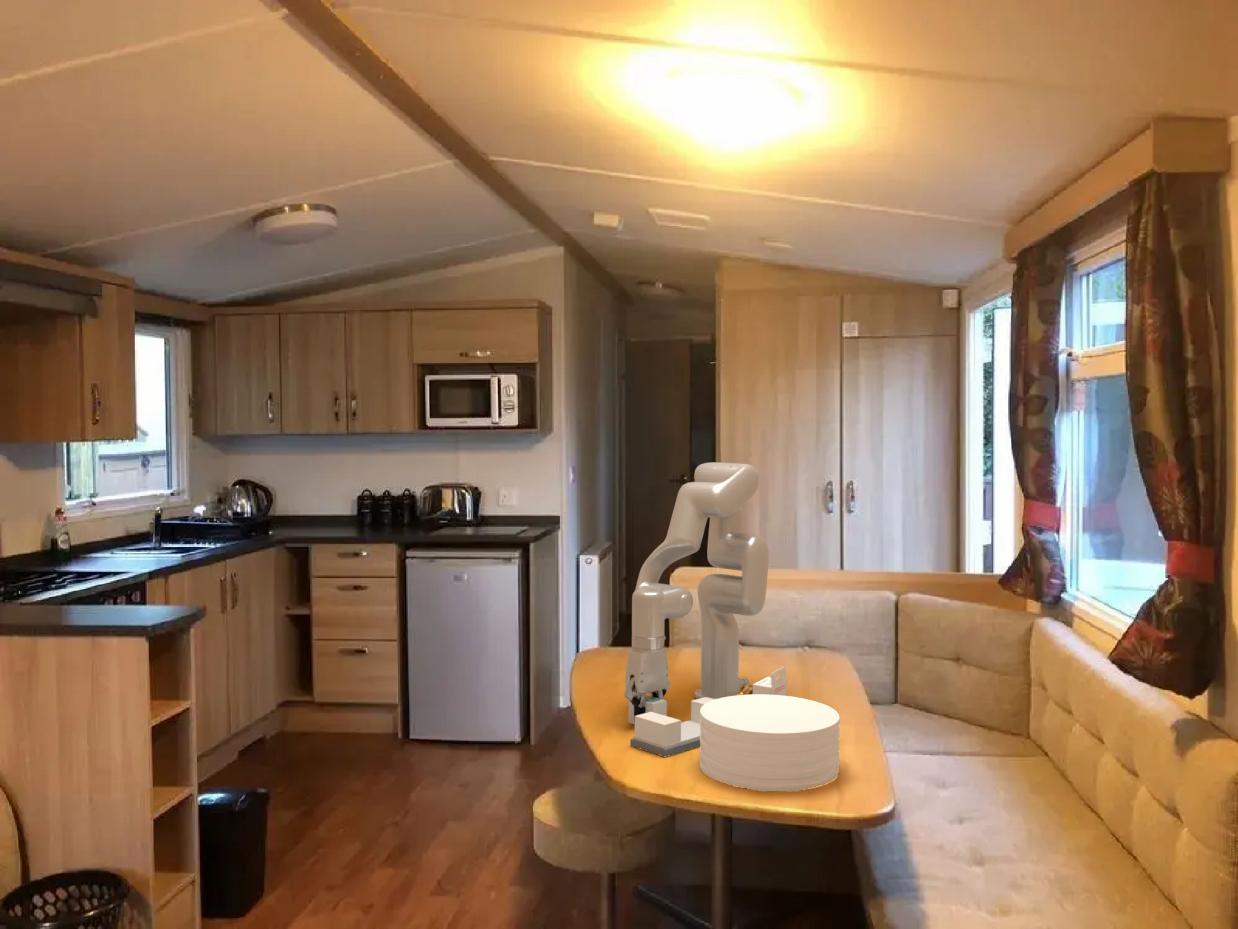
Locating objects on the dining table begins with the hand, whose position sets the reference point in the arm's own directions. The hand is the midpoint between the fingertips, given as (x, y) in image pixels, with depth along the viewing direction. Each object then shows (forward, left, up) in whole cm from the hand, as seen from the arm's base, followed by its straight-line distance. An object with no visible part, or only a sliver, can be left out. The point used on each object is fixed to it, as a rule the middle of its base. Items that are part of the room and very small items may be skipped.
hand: (647, 720), depth 237 cm
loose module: (0, 0, -1) cm, 1 cm away
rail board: (+2, +14, -1) cm, 14 cm away
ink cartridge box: (-16, +23, -1) cm, 28 cm away
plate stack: (+3, +37, -1) cm, 38 cm away
